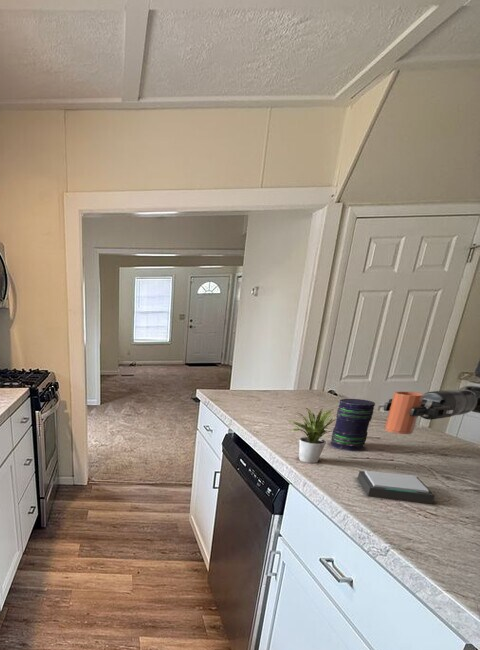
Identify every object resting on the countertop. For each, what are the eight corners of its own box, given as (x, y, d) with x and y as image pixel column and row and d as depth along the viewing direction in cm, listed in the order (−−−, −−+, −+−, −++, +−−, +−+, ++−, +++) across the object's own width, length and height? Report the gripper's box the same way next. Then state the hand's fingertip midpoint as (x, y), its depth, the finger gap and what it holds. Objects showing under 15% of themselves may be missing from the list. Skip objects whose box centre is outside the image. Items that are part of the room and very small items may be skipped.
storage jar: (351, 441, 139) (361, 398, 133) (371, 450, 130) (383, 404, 124) (323, 442, 138) (332, 399, 132) (341, 451, 129) (352, 405, 123)
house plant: (298, 448, 132) (308, 399, 126) (342, 459, 122) (355, 406, 115) (274, 457, 124) (284, 405, 118) (320, 470, 114) (333, 413, 107)
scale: (415, 484, 104) (418, 474, 102) (432, 504, 93) (436, 493, 92) (357, 478, 108) (359, 468, 107) (367, 496, 97) (370, 485, 96)
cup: (408, 429, 109) (419, 392, 105) (416, 435, 104) (427, 396, 100) (381, 427, 111) (391, 390, 107) (387, 432, 106) (398, 394, 102)
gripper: (417, 386, 114) (375, 390, 109) (476, 395, 102) (432, 400, 97) (410, 412, 117) (369, 417, 112) (466, 423, 105) (423, 430, 100)
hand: (398, 409), depth 104 cm, fingers closed on cup, 6 cm apart
